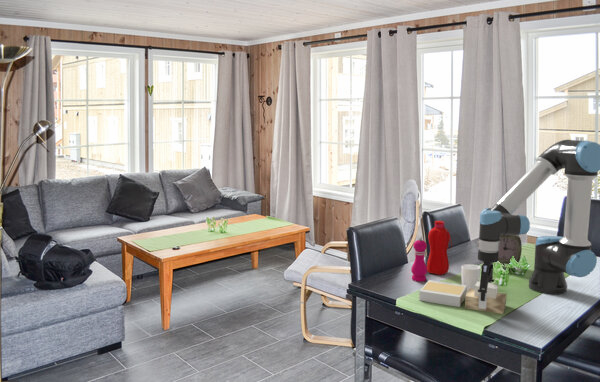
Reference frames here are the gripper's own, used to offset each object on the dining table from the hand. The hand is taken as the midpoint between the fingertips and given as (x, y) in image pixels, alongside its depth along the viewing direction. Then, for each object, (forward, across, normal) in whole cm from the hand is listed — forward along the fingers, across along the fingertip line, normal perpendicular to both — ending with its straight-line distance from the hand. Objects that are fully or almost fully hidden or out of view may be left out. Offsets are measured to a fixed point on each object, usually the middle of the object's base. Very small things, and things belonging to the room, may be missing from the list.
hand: (484, 303), depth 207 cm
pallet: (+2, 0, 0) cm, 2 cm away
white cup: (+2, -19, -9) cm, 21 cm away
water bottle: (+2, -37, -26) cm, 45 cm away
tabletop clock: (+1, -59, +1) cm, 59 cm away
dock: (+2, -3, -17) cm, 17 cm away
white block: (-3, 0, 0) cm, 3 cm away
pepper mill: (+2, -22, -32) cm, 39 cm away
